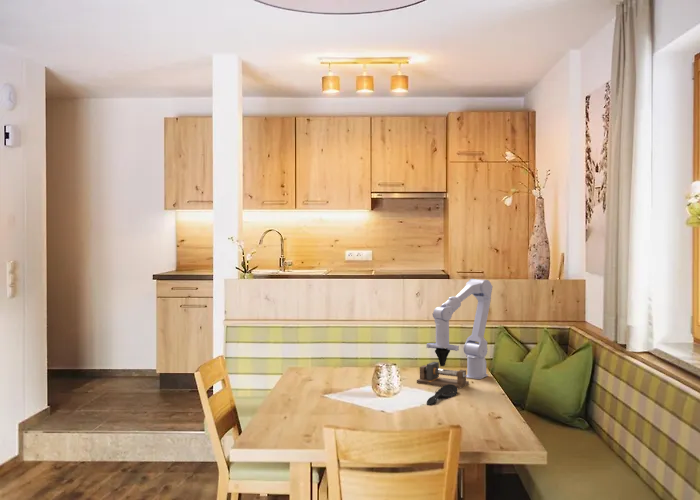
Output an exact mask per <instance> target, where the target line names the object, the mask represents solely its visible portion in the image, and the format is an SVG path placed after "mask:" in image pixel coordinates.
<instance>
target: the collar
mask: <svg viewBox="0 0 700 500" xmlns="http://www.w3.org/2000/svg"><path fill="white" fill-rule="evenodd" d="M426 365H427V380H433V379H436V378H438V377H440V374H433V368H437V369H440V367H439V366H440V363H439V361H432V362H429V363H427V364H426Z"/></svg>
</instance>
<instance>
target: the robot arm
mask: <svg viewBox="0 0 700 500" xmlns="http://www.w3.org/2000/svg"><path fill="white" fill-rule="evenodd" d="M492 292H493V284H492V282H491V281H490V280H488V279H478V278H477V279H475V278H471V279H469V280H468V281H467V282H466V283H465V285H464V287H463V288H462V289H461V290H460V291H459V292H458V293H457V294H456V295H455V296H454V295H453V296H449V297H448V299H447V300H446V301H445V302H444V303H442V304H441V305H440V306H437V307H435V308H434V309H433V313H432V317H433V319H434V323H435V343H434V342H427V343H426V349H435V350H434V353H435V355H436V356H437V359H438V362H439V366H440V367H445V366H446V362H447V358H448V356H449V354H450V352H451V351H454V352H458V351H459V350H460V348H459V347H460V346H459V345H455V344H450V320H451V319H452V317H453V314H454V313H455V312H456V311H457V310H459V308H460V307H461V306H462V302H463V301H465V300H466V299H467V298H468V297H470V296H471V295H472V296H473V297H474V298H476V300H477V304H476V305H477V306H476V311H475V316H474V320H473V327H472V331H471V335H469V336H467V338H466V341H465V343H464V344H463V352H464V354H465V356H466V357H467V358H466V359H467V360H466V361H467V365H466V366H467V370H466V379H467V378H468V379H476V380H482V379H484V378H485V377H488V376H489V374H488V373H487V360H486V356H487V355H488V341H487V340H486V339H485V332H486V327H487V321H488V317H489V312H490V311H489V310H490V306H491V299H492Z"/></svg>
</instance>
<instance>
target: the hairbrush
mask: <svg viewBox="0 0 700 500" xmlns="http://www.w3.org/2000/svg"><path fill="white" fill-rule="evenodd" d="M452 384H453V383H452ZM452 384H447V385H444V384H443V385H444V386H441V387H439V388H438V389H437V390H436V391H435V392H434V395H432V396H430V397H428V399H427V401H426V405H427V406H434V405H435V404H436V403H437V401H438V399H439V398H441V399H442V398H443V399H450V398H453V397H456V396H457V395H458V389H457V387H456V386H455V385H452Z"/></svg>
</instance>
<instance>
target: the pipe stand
mask: <svg viewBox="0 0 700 500" xmlns="http://www.w3.org/2000/svg"><path fill="white" fill-rule="evenodd" d="M433 374H439V377H438V378H436V379H433V380H427V364H426V365H425V364H424V365H421V366H419V378H418V379H416V384H423V385H430V386H435V387H436V386H437V387H443V386H444V385H447V384H452V383H453V384H452V385H455V386H456V387H457V390H459V389H461V388H463V387H466V386H468V385H470V382H469V380H467V378H466V375H467V370H466V369H460V370H451V369H443V368H439V369H437V368H433ZM440 375H442V376H450V377H456V378H457V379H454V378H446V377H440ZM443 384H444V385H443Z"/></svg>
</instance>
